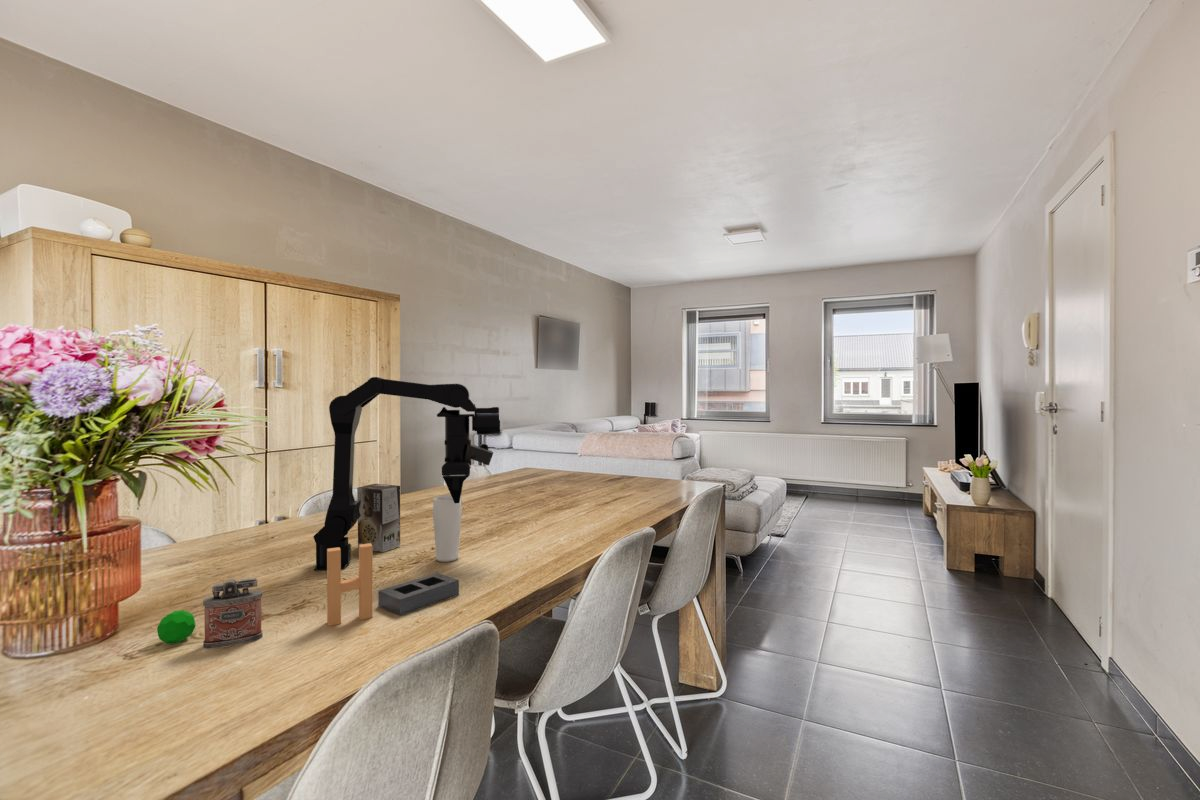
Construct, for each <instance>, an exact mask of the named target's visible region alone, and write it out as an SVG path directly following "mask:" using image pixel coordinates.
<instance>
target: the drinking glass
mask: <svg viewBox="0 0 1200 800" xmlns="http://www.w3.org/2000/svg"><path fill="white" fill-rule="evenodd" d="M462 502H463V501H462V497H461V496H460V502H459V503H454V501H453V498H452V496H451V494H448V495H439V496H438V495H437V496H435V497H433V500H432V519H433V523H432V524H433V532H434V543H435V559H436V560H437V561H438V562H441V563H442V562H443V563H447V562H453V561H456V560H457V559H458V558H459V555H460V554H459V552H460V551H459V548H460V537H461V527H462V516H463V515H462V514H463V513H462V512H463V509H462V508H463V504H462Z"/></svg>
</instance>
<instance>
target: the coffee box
mask: <svg viewBox="0 0 1200 800" xmlns="http://www.w3.org/2000/svg"><path fill="white" fill-rule="evenodd" d="M356 489H357V490H356V491H357V493H356V494H357V497H356V498H357V499H356V501H357V500H361V504H360V508H359V511H360V515H361V516H360V517H359V518H358V519H357V549H359V545H361V544H368V543H371V544H372V546H373V550H374V551H373V552H378V551H379V552H380V553H384V552H387V551H391V550H394V549H397V548H396V547H398V548H400V547H401V485H395V484H386V483H385V484H384V483H383V484H382V483H373V484H367V485H363V486H359V487H357V488H356ZM399 546H400V547H399ZM379 552H378V553H379Z"/></svg>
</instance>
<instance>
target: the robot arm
mask: <svg viewBox="0 0 1200 800" xmlns="http://www.w3.org/2000/svg"><path fill="white" fill-rule="evenodd" d="M379 395H388V396H394V397H395V396H397V397H403V398H404V397H405V398H414V399H420V400H421V399H422V400H429V401H432V402H435V403H438V404H440V405H444V406H443V407H442V408H441V410H440V411H439V412H438V413H437V414H436V417H437V418H444V433H445V434H444V446H445V447H444V448H445V450H444V453H445V454H444V463H443V465H442V466H441V476H442V479H443V481H444V482H445V484H446V487H447V490H448V491H449V493H450V494H449V495H451V496H452V498H453V501H454V503H459V502H460V497H461V495H462V491H463V485H464V481H466V480H467V479H468V478H469V476H470V475H471V474H470V473H471V468H472V460H473V461H476V462H479V463H482V464H483V465H485V466H490V463H491V461H492V458H493V455H494V451H492V450H490V449H489V445H488V444H486V443H481V444H480V445H479V446H478V445H473V444H472V440H471V439H470V417H471V429H472V430H471V431H473V432H476V435H477V436H485V435H486V436H488V435H490V436H491V435H500V434H501V419H500V407H499V406H493V407H477V406H476V404H475V403H474V402H473V401H472V400H471V399H470V392H469V389H468V388H467V387H466V386H465V385H463V384H461V383H442V384H428V383H427V384H425V383H418V382H411V381H401V380H396V379H387V378H383V377H380V376H372V377H370V378H368V380H367V381H365V382H364V383H362V384H361V385H359V386H358V387H357V388H355V389H353V390H352V391H350V392H349V393H347V394H346V395H339V396H337V397H335V398H333V399H332V400H331V401H330V403H329V406H328V410H329V411H328V412H329V417H330V423H331V426H332V429H333V433H334V446H333V447H334V450H333V451H334V452H333V476H332V477H333V479H332V495H331V499H330V502H329V504H328V508H327V511H326V515H325V518H324V526H323V527H322V528H320V529H319V530H318V531H317V532H316V533H315V534H314V535H313V539H314V543H315V566H314V567H313V571H327V549H329V548H337V547H340V549H341V570H343V569H345V568H347V566H348V565H349V563H350V562H351V560H352V559H351V558H352V557H351V555H352V554H351V551H352V550H351V549H352V548H351V547H352V545H351V543H349V537H348V536H347V535H348V533H349V531H350V530H351V529H352V528H353V527H354V526H355V525H356V524H357V523H358V518H359V517H360V516H361V515H360V511H359V508H360V504H361V500H357V499H356V500H355V496H354V491H353V488H354V487H353V485H354V483H353V482H354V467H355V466H354V463H355V462H354V460H355V440H356V439H355V438H356V437H355V436H356V431H357V429H358V426H359V423H360V419H361V416H362V411H363V408H364V407H366V406H367V405H368V404H369V403H370V402H372V401H373V400H374V399H376V398H377V397H378V396H379ZM445 406H448V407H451V408H455V409H447V408H446V407H445ZM456 408H461V409H463V410H464V411H466V412H468V413H461V411H460V409H456ZM469 412H471V413H469ZM472 412H474V413H472Z"/></svg>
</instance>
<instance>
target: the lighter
mask: <svg viewBox="0 0 1200 800" xmlns="http://www.w3.org/2000/svg"><path fill="white" fill-rule="evenodd" d="M257 586H258V579H257V578H256V577H252V578H250V577H249V578H244V579H240V580H238V581H236V579H233V578H230V579H227V580H226V582H221V583H214V584H212V585H211V592H212V595H211V596H209V597H206V598H204V599H202V605H203V607H204V639H203V645H202V647H203V649H205V650H211V649H218V648H220V649H221V648H225V647H226V648H227V647H232V646H238V645H242V644H243V645H244V644H248V643H252V642H256V641H259V640H260V639H262V638H263V636H264V635H263V630H262V598H263V590H261V589H257V590H249V588H250V589H251V588H256V587H257ZM241 590H242V591H241ZM220 592H221V593H220Z"/></svg>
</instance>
